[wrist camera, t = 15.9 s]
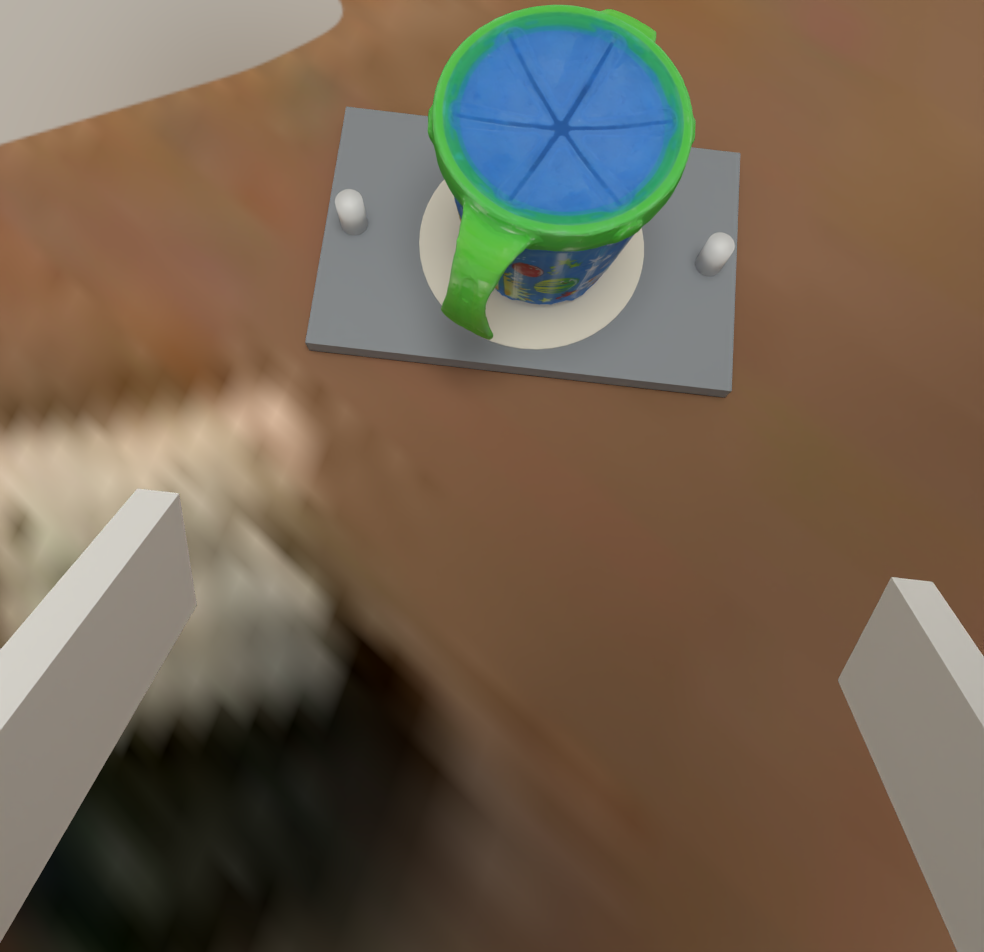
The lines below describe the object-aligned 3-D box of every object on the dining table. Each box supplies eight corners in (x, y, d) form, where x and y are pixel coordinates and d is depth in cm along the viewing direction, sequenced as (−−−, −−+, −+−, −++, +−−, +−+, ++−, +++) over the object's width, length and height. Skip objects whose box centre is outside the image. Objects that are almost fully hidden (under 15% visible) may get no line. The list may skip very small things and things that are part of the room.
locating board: (733, 164, 42) (754, 128, 39) (724, 397, 39) (746, 377, 36) (348, 119, 41) (340, 79, 38) (309, 350, 38) (296, 326, 35)
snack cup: (532, 416, 37) (557, 334, 27) (368, 297, 38) (334, 177, 28) (700, 197, 40) (779, 51, 30) (544, 93, 41) (570, -81, 31)
